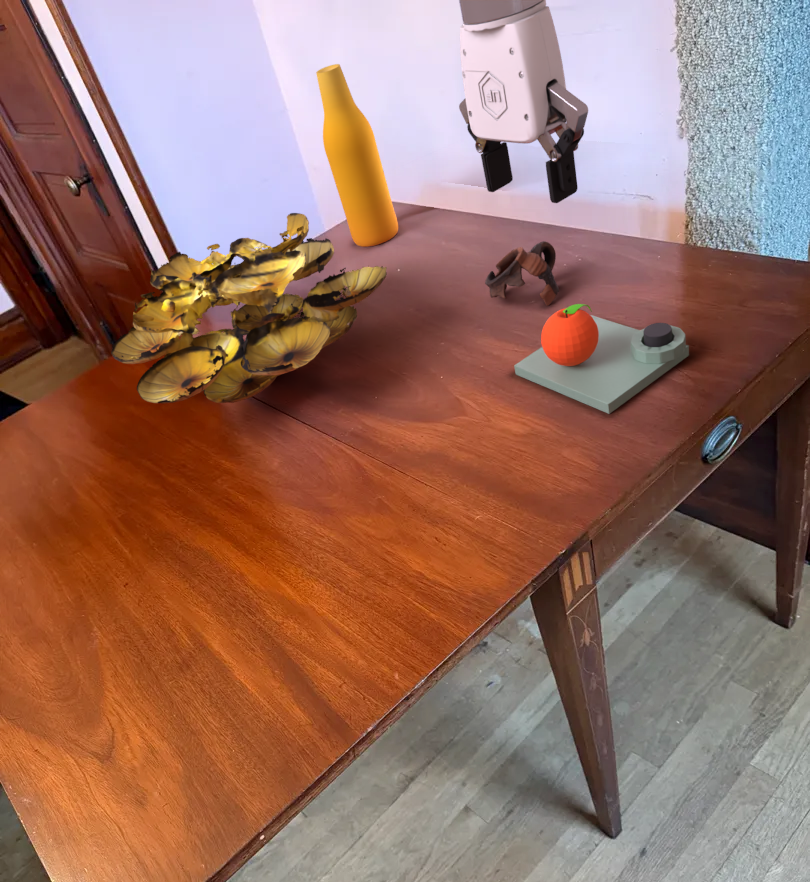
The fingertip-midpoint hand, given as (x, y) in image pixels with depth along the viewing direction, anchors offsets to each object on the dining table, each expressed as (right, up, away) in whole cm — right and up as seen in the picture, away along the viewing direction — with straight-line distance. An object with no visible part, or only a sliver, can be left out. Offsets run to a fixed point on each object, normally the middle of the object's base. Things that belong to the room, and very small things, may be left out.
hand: (531, 191), depth 78 cm
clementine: (+8, -14, +16) cm, 23 cm away
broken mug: (+6, 0, +34) cm, 35 cm away
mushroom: (-34, -10, +39) cm, 53 cm away
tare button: (+17, -12, +12) cm, 24 cm away
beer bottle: (-19, +22, +67) cm, 73 cm away
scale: (+11, -14, +16) cm, 24 cm away
